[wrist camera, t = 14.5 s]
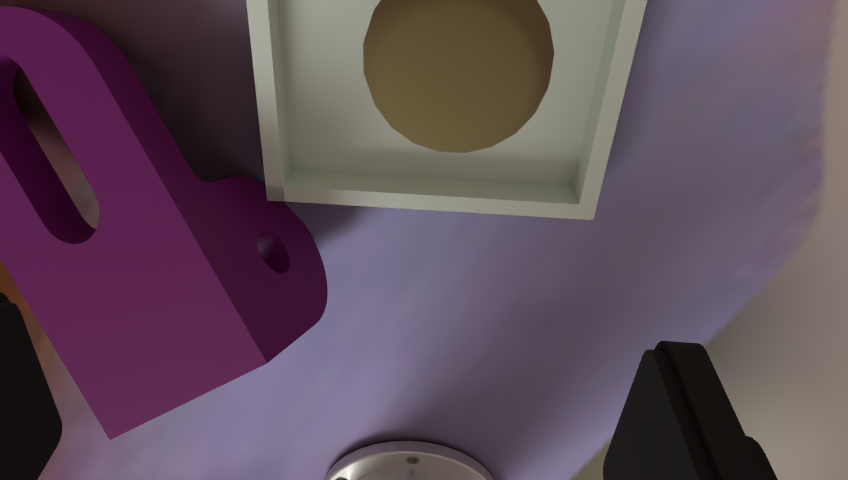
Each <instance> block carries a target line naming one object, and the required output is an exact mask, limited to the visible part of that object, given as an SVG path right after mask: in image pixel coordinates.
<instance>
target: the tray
mask: <svg viewBox="0 0 848 480" xmlns="http://www.w3.org/2000/svg"><path fill="white" fill-rule="evenodd" d="M380 1H381V0H246V3H247V13H248V22H249V32H250V41H251V51H252V60H253V70H254V79H255V89H256V98H257V108H258V118H259V127H260V137H261V146H262V156H263V165H264V175H265V184H266V194H267V200H268V201H285V202H301V203H318V204H334V205H351V206H367V207H384V208H401V209H417V210H434V211H450V212H467V213H483V214H500V215H516V216H533V217H549V218H566V219H582V220H593V219H594V215H595V211H596V207H597V203H598V199H599V195H600V191H601V187H602V183H603V179H604V175H605V171H606V167H607V163H608V159H609V154H610V150H611V146H612V142H613V138H614V134H615V130H616V126H617V122H618V118H619V114H620V110H621V106H622V102H623V98H624V94H625V89H626V85H627V81H628V77H629V73H630V69H631V65H632V61H633V57H634V53H635V49H636V45H637V41H638V37H639V33H640V29H641V24H642V20H643V16H644V12H645V8H646V4H647V0H537V1H538V3H539V4H540V6H541V8H542V10H543V12H544V14H545V15H546V17H547V19H548V22H549V24H550V30H551V36H552V42H553V48H554V59H553V65H552V71H551V78H550V83H549V86H548V89H547V91H546V93H545V95H544V97H543V99H542V101H541V103H540V105H539V107H538V109H537V111H536V113H535V114H534V115H533V116H532V117H531V118H530V119H529V120H528V121H527V122H526V123H525V125H524V126H523V127H522V128H521V129H520V130H519V131H518V132H517V133H516V134H514V135H512V136H510V137H509V138H507V139H505V140H503V141H502V142H500V143H498V144H496V145H494V146H493V147H490V148H485V149H481V150H477V151H472V152H468V153H453V152H438V151H435V150H432V149H429V148H426V147H423V146H420V145H417V144H415V143H412V142H411V141H410V140H408V139H407V138H406V137H404V136H403V135H401V134H400V133H399V132H397V131H396V130H394V129H393V128H392V127H391V126H390V125H389V123H388V122H387V121H386V119H385V118H384V117H383V115H382V114H381V113H380V111H379V110H378V109H377V108H376V106H375V104H374V101H373V99H372V96H371V93H370V90H369V87H368V84H367V81H366V78H365V75H364V68H363V42H364V39H365V36H366V33H367V30H368V27H369V23H370V20H371V17H372V14H373V12H374V9H375V7H376V6H377V5H378V3H379V2H380Z"/></svg>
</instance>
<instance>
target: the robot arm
mask: <svg viewBox="0 0 848 480" xmlns="http://www.w3.org/2000/svg"><path fill="white" fill-rule="evenodd" d="M61 433H62V422H61V418H60V416H59V413H58V410H57V408H56V405H55V402H54V400H53V397H52V394H51V392H50V389H49V386H48V384H47V381H46V378H45V376H44V373H43V370H42V368H41V365H40V362H39V360H38V357H37V355H36V352H35V349H34V347H33V344H32V341H31V339H30V336H29V333H28V331H27V328H26V325H25V323H24V320H23V317H22V315H21V312H20V310H19V308H18V306H17V305H15V304H14V303H10V301H9V300H8V298H7V296H6V295H4V294H3V293H0V480H37V479H38V477H39V476H40V474H41V472H42V471H43V469H44V467H45V466H46V464H47V462H48V461H49V459H50V457H51V456H52V454H53V452H54V451H55V449H56V447H57V445H58V443H59V441H60V438H61ZM603 478H604V480H777V477H776V475H775V473H774V471H773V469H772V467H771V465H770V463H769V461H768V459H767V457H766V455H765V453H764V452H763V450H762V448H761V446H760V445H759V443H758V442H756V441H755V440H754V439H753V438H752V437H748V436H745V434H744V431H743V429H742V427H741V425H740V423H739V421H738V418H737V416H736V414H735V412H734V410H733V408H732V406H731V403H730V401H729V399H728V397H727V395H726V393H725V390H724V388H723V386H722V384H721V382H720V380H719V377H718V375H717V373H716V371H715V369H714V367H713V365H712V362H711V360H710V358H709V356H708V354H707V352H706V350H705V348H704V347H703V346H702V345H701V344H698V343H684V342H670V341H660V342H659V343H658V344H657V346H656V348H655V350H646V351H645V352H644V354H643V356H642V359H641V361H640V364H639V367H638V370H637V372H636V375H635V378H634V381H633V383H632V386H631V389H630V392H629V394H628V397H627V400H626V402H625V405H624V408H623V411H622V413H621V416H620V419H619V422H618V424H617V427H616V430H615V432H614V435H613V438H612V441H611V444H610V446H609V449H608V452H607V454H606V457H605V460H604V466H603ZM325 480H494V479H493V477H492V476H491V475H490V474H489V472H488V471H487V470H486V469H485V468H484V467H483V466H482V465H481V464H479V463H478V462H477V461H476V460H474V459H473V458H471V457H469V456H467V455H465V454H463V453H461V452H460V451H457V450H454V449H451V448H448V447H446V446H442V445H437V444H433V443H428V442H418V441H391V442H385V443H378V444H374V445H370V446H367V447H364V448H361V449H358V450H356V451H354V452H352V453H350V454H348V455H346V456H345V457H343V458H342V459H341V460H339V461H338V462H337V463H335V464H334V466H333V467H332V468H331V469H330V470H329V472H328V473H327V476H326V478H325Z"/></svg>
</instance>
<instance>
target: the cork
mask: <svg viewBox="0 0 848 480" xmlns="http://www.w3.org/2000/svg"><path fill="white" fill-rule="evenodd" d="M553 59H554V48H553V42H552V36H551V30H550V24H549V22H548V19H547V17H546V15H545V14H544V12H543V10H542V8H541V6H540V4H539V3H538V1H537V0H381V1H380V2H379V3H378V5H377V6H376V7H375V9H374V12H373V14H372V17H371V20H370V23H369V27H368V30H367V33H366V36H365V39H364V42H363V68H364V75H365V78H366V81H367V84H368V87H369V90H370V93H371V96H372V99H373V101H374V104H375V106H376V108H377V109H378V110H379V111H380V113H381V114H382V115H383V117H384V118H385V119H386V121H387V122H388V123H389V125H390V126H391V127H392V128H393V129H394V130H396V131H397V132H399V133H400V134H401V135H403V136H404V137H406V138H407V139H408V140H410V141H411V142H412V143H415V144H417V145H420V146H423V147H426V148H429V149H432V150H435V151H438V152H453V153H468V152H472V151H477V150H481V149H485V148H490V147H493V146H494V145H496V144H498V143H500V142H502V141H503V140H505V139H507V138H509V137H510V136H512V135H514V134H516V133H517V132H518V131H519V130H520V129H521V128H522V127H523V126H524V125H525V123H526V122H527V121H528V120H529V119H530V118H531V117H532V116H533V115H534V114H535V113H536V111H537V109H538V107H539V105H540V103H541V101H542V99H543V97H544V95H545V93H546V91H547V89H548V86H549V83H550V78H551V71H552V65H553Z"/></svg>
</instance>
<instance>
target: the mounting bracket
mask: <svg viewBox="0 0 848 480" xmlns="http://www.w3.org/2000/svg"><path fill="white" fill-rule="evenodd" d="M19 66H20V67H21V68H22V70H23V71H24V73H25V74H26V76H27V78H28V79H29V81H30V83H31V84H32V86H33V88H34V90H35V91H36V93H37V95H38V96H39V98H40V100H41V101H42V103H43V105H44V107H45V108H46V110H47V112H48V113H49V115H50V117H51V119H52V120H53V122H54V124H55V125H56V127H57V129H58V130H59V132H60V134H61V136H62V137H63V139H64V141H65V142H66V144H67V146H68V148H69V149H70V151H71V153H72V154H73V156H74V158H75V159H76V161H77V163H78V165H79V166H80V168H81V170H82V171H83V173H84V175H85V177H86V178H87V180H88V182H89V183H90V185H91V187H92V188H93V190H94V192H95V194H96V197H97V200H98V203H99V209H100V218H99V224H98V227H97V229H96V230H95V229H94V228H92V227H91V226H90V225H89V224H88V223H87V222H86V221H85V220H84V219H83V218H82V216H81V214H80V213H79V211H78V209H77V208H76V206H75V204H74V203H73V201H72V199H71V198H70V196H69V194H68V192H67V191H66V189H65V187H64V186H63V184H62V182H61V181H60V179H59V177H58V175H57V174H56V172H55V170H54V169H53V167H52V165H51V164H50V162H49V160H48V159H47V157H46V155H45V153H44V152H43V150H42V148H41V147H40V145H39V143H38V142H37V140H36V138H35V136H34V135H33V133H32V131H31V130H30V128H29V126H28V125H27V123H26V121H25V120H24V118H23V116H22V114H21V113H20V111H19V109H18V107H17V105H16V102H15V98H14V93H13V81H14V76H15V73H16V70H17V69H18V67H19ZM0 258H1V260H2V262H3V263H4V265H5V267H6V268H7V270H8V272H9V273H10V275H11V277H12V278H13V280H14V281H15V283H16V285H17V286H18V288H19V290H20V291H21V293H22V295H23V296H24V298H25V300H26V301H27V303H28V305H29V306H30V308H31V310H32V311H33V313H34V315H35V316H36V318H37V320H38V321H39V323H40V325H41V326H42V328H43V330H44V331H45V333H46V335H47V336H48V338H49V340H50V341H51V343H52V345H53V346H54V348H55V350H56V351H57V353H58V354H59V356H60V358H61V359H62V361H63V363H64V364H65V366H66V368H67V369H68V371H69V373H70V374H71V376H72V378H73V379H74V381H75V383H76V384H77V386H78V388H79V389H80V391H81V393H82V394H83V396H84V398H85V399H86V401H87V403H88V404H89V406H90V408H91V409H92V411H93V413H94V414H95V416H96V418H97V419H98V421H99V422H100V424H101V426H102V427H103V429H104V431H105V432H106V434H107V436H108V437H109V439H110V440H111V439H113V438H115V437H117V436H119V435H121V434H123V433H125V432H127V431H129V430H131V429H133V428H135V427H137V426H139V425H141V424H143V423H145V422H148V421H150V420H152V419H154V418H156V417H158V416H160V415H162V414H164V413H166V412H168V411H170V410H172V409H174V408H176V407H178V406H180V405H182V404H184V403H186V402H189V401H191V400H193V399H195V398H197V397H199V396H201V395H203V394H205V393H207V392H209V391H211V390H213V389H215V388H217V387H219V386H221V385H223V384H225V383H228V382H230V381H232V380H234V379H236V378H238V377H240V376H242V375H244V374H246V373H248V372H250V371H252V370H254V369H256V368H258V367H260V366H262V365H264V364H267V363H268V362H269V361H270V360H272V359H273V358H274V357H275V356H277V355H278V354H279V353H280V352H282V351H283V350H284V349H285V348H287V347H288V346H289V345H290V344H291V343H293V342H294V341H295V340H296V339H298V338H299V337H300V336H301V335H303V334H304V333H305V332H306V331H308V330H309V329H310V328H311V327H312V326H314V325H315V324H316V323H317V322H318V321H319V320H320V318H321V317H322V315H323V313H324V310H325V307H326V303H327V280H326V274H325V269H324V265H323V262H322V259H321V256H320V253H319V251H318V249H317V246H316V244H315V242H314V240H313V238H312V236H311V234H310V232H309V231H308V229H307V227H306V226H305V225H304V224H303V223H302V221H301V220H300V219H299V218H298V217H297V216H296V215H295V214H294V213H293V212H292V210H291V209H290V208H289V207H288V206H287V205H286V204H285V203H284V202H283V201H268V200H267V194H266V185H265V184H263V183H261V182H259V181H257V180H254V179H251V178H248V177H243V176H235V177H229V178H225V179H221V180H217V181H213V182H205V181H202V180H201V179H199V178H198V177H197V176H196V175H195V174H194V173H193V172H192V170H191V169H190V167H189V165H188V164H187V162H186V160H185V158H184V157H183V155H182V153H181V151H180V150H179V148H178V146H177V145H176V143H175V141H174V139H173V138H172V136H171V134H170V132H169V131H168V129H167V127H166V125H165V124H164V122H163V120H162V118H161V117H160V115H159V113H158V111H157V110H156V108H155V106H154V104H153V103H152V101H151V99H150V97H149V96H148V94H147V92H146V90H145V89H144V87H143V85H142V83H141V82H140V80H139V78H138V76H137V75H136V73H135V71H134V69H133V68H132V66H131V65H130V63H129V61H128V60H127V58H126V57H125V56H124V54H123V53H122V52H121V51H120V49H119V48H118V47H117V46H116V45H115V44H114V43H113V42H112V41H111V39H109V38H108V37H107V36H106V35H105V34H104V33H103V32H101V31H100V30H99V29H97V28H96V27H94V26H93V25H91V24H89V23H87V22H86V21H84V20H82V19H79V18H77V17H74V16H71V15H68V14H64V13H58V12H50V11H43V10H36V9H28V8H21V7H13V6H0Z"/></svg>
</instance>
